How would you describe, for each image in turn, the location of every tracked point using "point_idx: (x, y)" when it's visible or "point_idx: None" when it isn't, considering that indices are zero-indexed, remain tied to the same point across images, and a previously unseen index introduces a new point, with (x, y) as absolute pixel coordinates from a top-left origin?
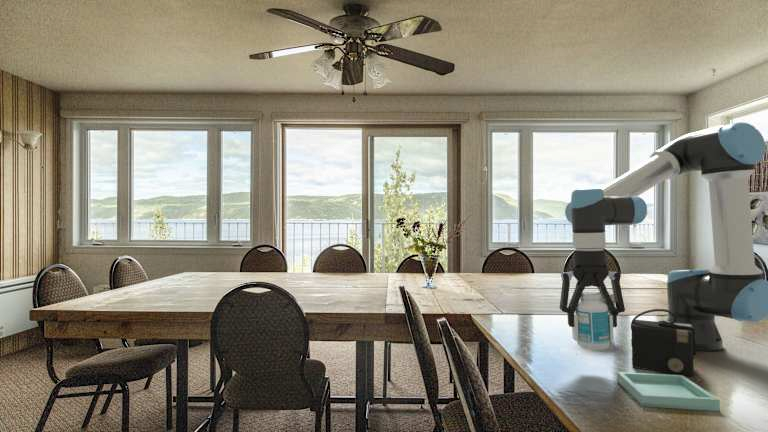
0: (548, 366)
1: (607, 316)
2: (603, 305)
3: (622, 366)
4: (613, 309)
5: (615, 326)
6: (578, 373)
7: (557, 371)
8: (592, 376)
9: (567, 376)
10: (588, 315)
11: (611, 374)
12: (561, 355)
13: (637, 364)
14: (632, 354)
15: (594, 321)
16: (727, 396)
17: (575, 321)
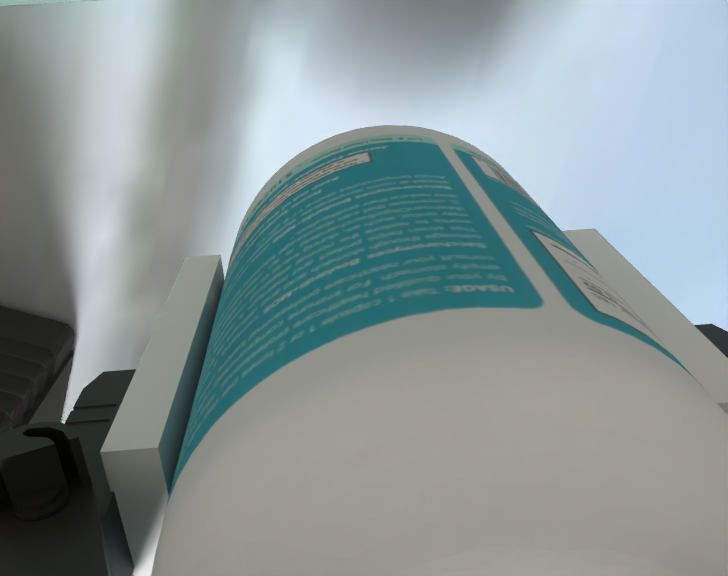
0: (675, 233)
1: (203, 394)
2: (256, 523)
3: (142, 343)
4: (41, 543)
5: (111, 377)
6: (500, 119)
7: (648, 132)
8: (412, 70)
9: (610, 25)
10: (588, 297)
11: (256, 151)
12: None
13: (35, 329)
14: (40, 399)
15: (463, 233)
16: None
17: (697, 340)
